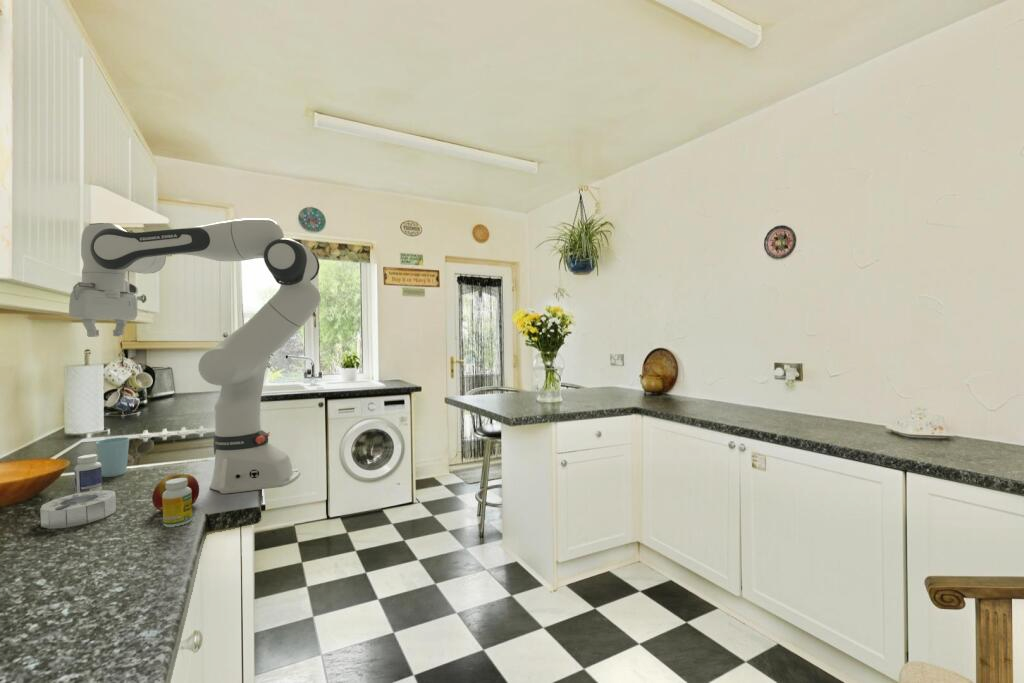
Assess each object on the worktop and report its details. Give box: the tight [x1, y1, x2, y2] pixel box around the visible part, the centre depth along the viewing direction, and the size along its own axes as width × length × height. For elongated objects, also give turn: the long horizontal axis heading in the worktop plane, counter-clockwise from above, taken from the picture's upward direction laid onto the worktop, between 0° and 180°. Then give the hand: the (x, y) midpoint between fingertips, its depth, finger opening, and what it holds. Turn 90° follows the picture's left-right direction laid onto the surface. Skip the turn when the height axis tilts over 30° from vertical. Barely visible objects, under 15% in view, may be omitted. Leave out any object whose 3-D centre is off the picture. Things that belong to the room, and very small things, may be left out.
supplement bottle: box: [162, 478, 194, 528], centre depth 103 cm, size 5×5×10 cm
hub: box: [39, 489, 117, 530], centre depth 107 cm, size 12×12×4 cm
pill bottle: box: [73, 453, 103, 494], centre depth 125 cm, size 5×5×10 cm
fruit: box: [151, 473, 200, 512], centre depth 111 cm, size 10×9×8 cm
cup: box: [95, 436, 130, 478], centre depth 140 cm, size 8×8×10 cm
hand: (106, 336), depth 124 cm, fingers open, 8 cm apart
